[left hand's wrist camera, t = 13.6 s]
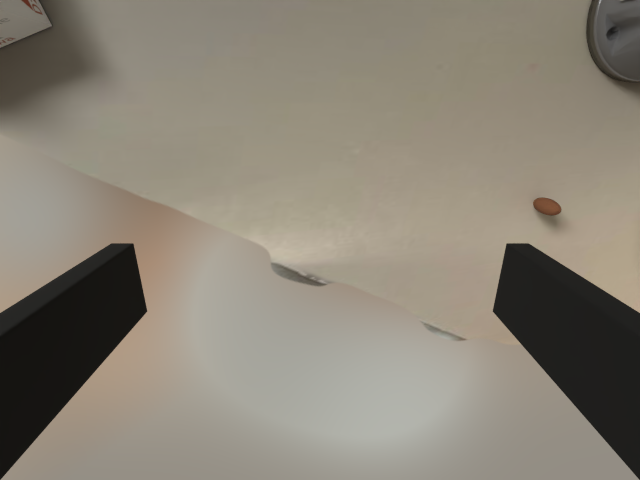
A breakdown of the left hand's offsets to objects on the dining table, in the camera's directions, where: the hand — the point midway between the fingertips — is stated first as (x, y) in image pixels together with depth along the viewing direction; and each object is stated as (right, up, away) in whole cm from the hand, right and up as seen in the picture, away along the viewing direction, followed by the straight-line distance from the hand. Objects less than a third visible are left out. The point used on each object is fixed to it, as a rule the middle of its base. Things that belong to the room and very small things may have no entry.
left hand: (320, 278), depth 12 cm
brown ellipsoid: (+30, +7, +36) cm, 47 cm away
